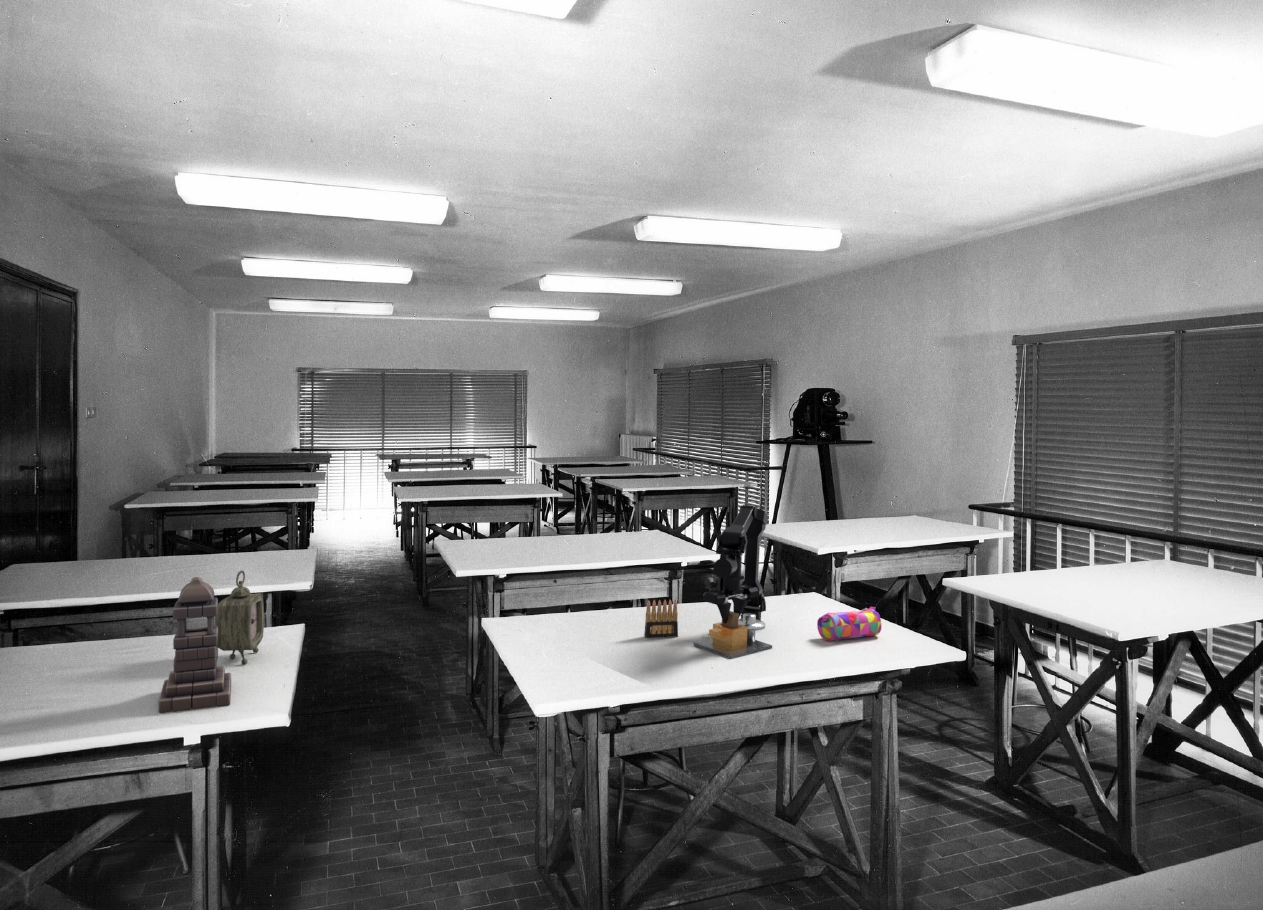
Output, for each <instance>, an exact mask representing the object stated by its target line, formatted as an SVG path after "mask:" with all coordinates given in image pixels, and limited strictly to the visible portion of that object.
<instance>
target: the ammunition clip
mask: <svg viewBox="0 0 1263 910" xmlns="http://www.w3.org/2000/svg"><path fill="white" fill-rule="evenodd" d="M677 602H678V601H677V599H676V598H675V599H674V601H673V603H672V600H671V599H669V601H668V605H667V601H666V599H664V601H663V604H662V602H661V599H659V600H658V602H657V604H656V600H655V599H653V601H652V605H651V601H650V600H647V603H646V609H645V610H646V611H645V624H644V633H643V637H644V638H645V639H652V638H653V639H659V638H678V637H679V625H678V623H679V621H678V620H679V619H678V618H679V617H678V615H679V613H678V603H677Z"/></svg>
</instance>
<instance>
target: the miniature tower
mask: <svg viewBox="0 0 1263 910" xmlns="http://www.w3.org/2000/svg"><path fill="white" fill-rule="evenodd" d="M214 590H215V589H214V588H213V587H212V585H210V584H209V583H207V582H204V581H203V579H202V578H201V577H200V576H193V577H191V580H190V582H189V583H186V584H185V586H183V588H182V589H181V590H180V593H179V597H178V599H177V601H176V602H175V603H174V607H173V608H172V619H173V620H174V621H175V620H176V631H175V635H174V638H173V640H172V641H173V644H172V645H173V648H172V649H173V650H174V658H173V670H172V671H170V672H169V674H168V678H167V679H165V680H164V681H163V684H162V688H161V691H160V695H159V698H158V713H160V714H164V713H165V714H166V713H177V712H185V711H186V712H187V711H191V710H200V709H208V708H215V707H217V708H219V707H228V706H230V705H231V694H232V692H231V691H232V673H231V672H226V666H225V665H217V664H218V659H219V648H217V643H218V627H217V626H215V616H217V611H218V603H219V602H218V601H219V600H218V597H215V591H214ZM202 617H203V618H206V620H207V621H206V622H207V623H206V624H207V626H202V627H201V626H200V627H191V628H189V627H188V628H187V619H199V618H202Z"/></svg>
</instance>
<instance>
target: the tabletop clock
mask: <svg viewBox="0 0 1263 910" xmlns="http://www.w3.org/2000/svg"><path fill="white" fill-rule="evenodd" d="M241 574H242V575H243V576H242V580H239V577H240V576H241ZM235 580H236V581H235V583H236V586H237V587H235V588H234V589H233V588H232V591H231V593H230V595H229V596H227V597H225V598H223V599H221V600H220V601H219V602H218V611H217V616H214V626H217V627H218V643H217V648H218V650H221V651H223V652H229V651H232V653H231V654H230V655H229V656H228V657H229V660H234V659H236V654H235V653H236V651H238V652H239V654H240V656H241V658H242V659H241V664H242V665H243V666H245V665H247V664H248V659H247V658H246V657H245V652H244V651H252V652H253V653H255V654H257V653H258V652H259V647H258V646H259V645H260V643H261V642H262V641H263V638H264V628H265V625H264V623H265V621H264V620H265V607H264V606H265V605H264V595H263V594H262V593H251V592H250V589H249V588H248V587H246V586H243V585H244V583H245V580H246V573H245V571H244V570H240V571H238V573H237V575H236V579H235Z"/></svg>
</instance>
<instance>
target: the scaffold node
mask: <svg viewBox="0 0 1263 910" xmlns="http://www.w3.org/2000/svg"><path fill="white" fill-rule="evenodd" d="M765 628H766V622H765V621H762V620H761V621H760V620H756V615H755V614H751V613H745V614H743V619H741V618H739V619H738V628H733V629H732V628H729V627H726V626H723V625H722V621H720V622H716V623H712V628H711V629H708V637H710V638H707V639H702V640H698V641H694V642H693V646H694V647H697V648H700V649H703V650H704V651H708V652H711V653H713V654H716V655H719V656H722V657H725V658H727V659H730V660H732V659H737V658H740V657H744V656H748V655H752V654H756V653H759V652H764V651H767V650H773V645H772V644H769V643H767V642H763V641H760V640H757V639H756V631H762V630H763V629H765Z"/></svg>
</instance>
